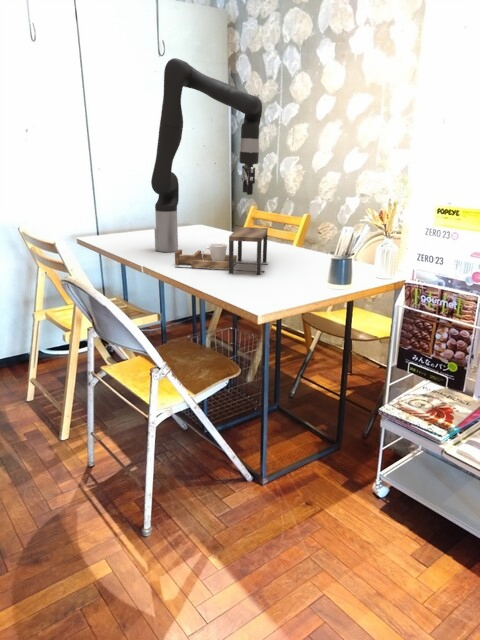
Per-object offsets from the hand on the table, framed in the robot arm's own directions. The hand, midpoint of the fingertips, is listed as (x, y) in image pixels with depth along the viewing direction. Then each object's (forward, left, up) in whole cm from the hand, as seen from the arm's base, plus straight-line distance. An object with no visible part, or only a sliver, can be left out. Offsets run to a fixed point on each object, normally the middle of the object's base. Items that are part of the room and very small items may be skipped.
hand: (247, 193), depth 201 cm
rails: (-7, -19, -26) cm, 33 cm away
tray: (-13, -19, -25) cm, 34 cm away
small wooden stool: (+4, -19, -26) cm, 32 cm away
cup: (-10, -19, -26) cm, 34 cm away
